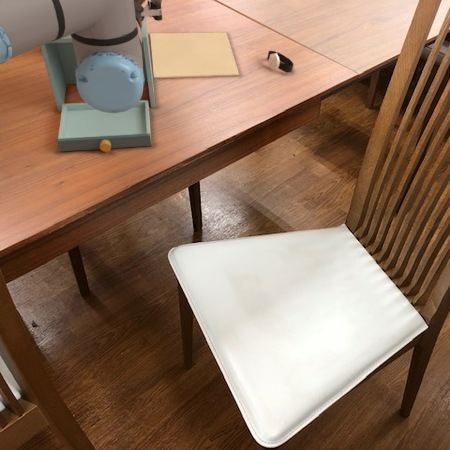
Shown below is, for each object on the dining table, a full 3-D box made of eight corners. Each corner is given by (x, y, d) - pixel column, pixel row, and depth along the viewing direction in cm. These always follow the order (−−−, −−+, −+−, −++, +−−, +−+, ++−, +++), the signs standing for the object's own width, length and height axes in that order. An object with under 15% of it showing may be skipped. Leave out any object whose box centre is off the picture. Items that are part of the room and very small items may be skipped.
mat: (239, 75, 110) (239, 74, 110) (153, 78, 106) (153, 76, 106) (226, 33, 124) (226, 32, 123) (150, 34, 119) (149, 33, 119)
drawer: (151, 149, 89) (150, 139, 88) (59, 155, 86) (55, 145, 84) (148, 108, 98) (147, 98, 97) (64, 111, 95) (62, 101, 93)
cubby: (155, 107, 99) (146, 37, 89) (58, 111, 95) (37, 38, 85) (152, 79, 106) (144, 11, 96) (62, 82, 102) (44, 11, 92)
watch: (261, 61, 116) (262, 46, 113) (278, 57, 118) (279, 42, 115) (281, 77, 112) (282, 62, 109) (298, 72, 114) (299, 57, 111)
